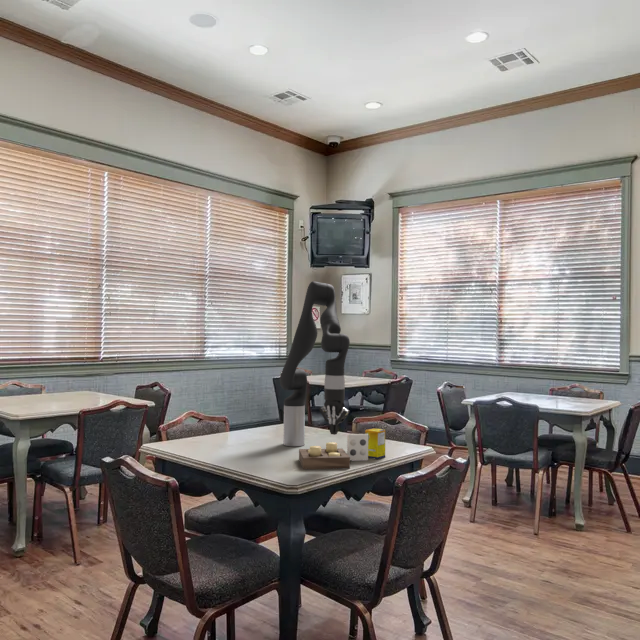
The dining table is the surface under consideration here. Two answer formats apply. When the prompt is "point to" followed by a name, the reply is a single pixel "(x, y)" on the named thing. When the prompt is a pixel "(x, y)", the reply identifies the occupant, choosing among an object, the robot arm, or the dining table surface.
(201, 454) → the dining table surface
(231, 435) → the dining table surface
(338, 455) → the button
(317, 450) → the button
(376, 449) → the supplement box
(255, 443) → the dining table surface
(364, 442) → the card
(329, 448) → the button
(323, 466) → the button board
